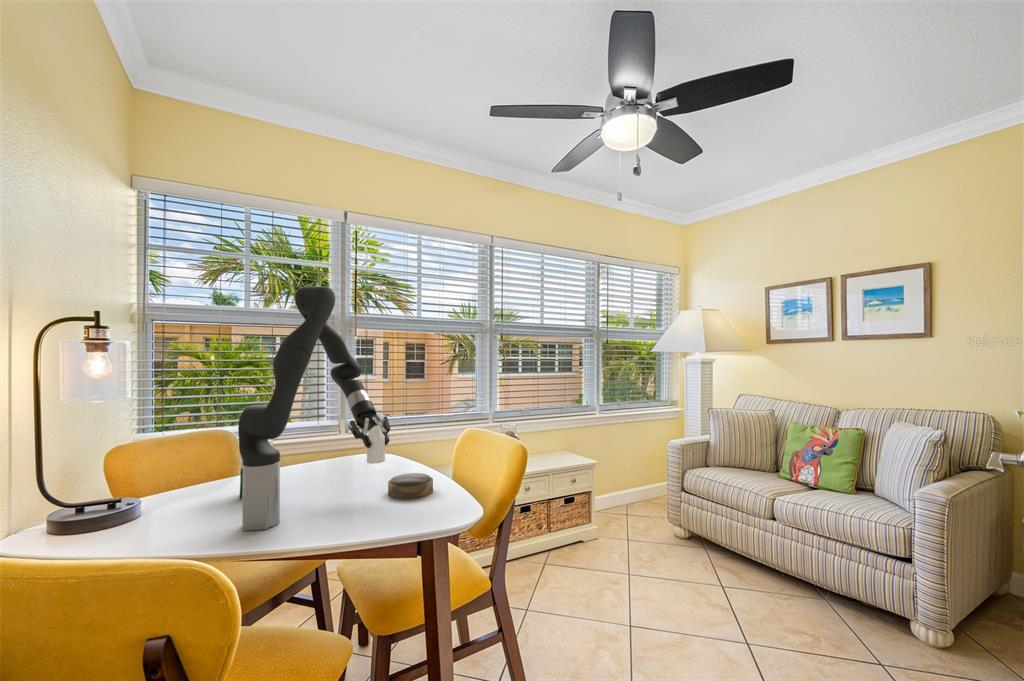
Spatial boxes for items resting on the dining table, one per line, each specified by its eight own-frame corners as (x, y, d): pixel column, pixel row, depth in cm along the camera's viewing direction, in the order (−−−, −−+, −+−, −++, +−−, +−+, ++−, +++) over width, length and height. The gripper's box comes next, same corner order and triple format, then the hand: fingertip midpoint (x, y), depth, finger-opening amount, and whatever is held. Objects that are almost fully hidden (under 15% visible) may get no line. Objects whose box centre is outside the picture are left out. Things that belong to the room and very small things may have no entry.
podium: (432, 497, 150) (432, 483, 150) (386, 500, 148) (386, 485, 148) (432, 484, 165) (432, 471, 165) (390, 487, 163) (390, 473, 163)
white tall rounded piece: (367, 427, 149) (365, 425, 154) (367, 464, 149) (365, 460, 154) (386, 426, 152) (383, 423, 157) (386, 462, 152) (383, 458, 157)
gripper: (345, 401, 153) (362, 441, 145) (383, 397, 163) (401, 435, 155) (338, 415, 157) (354, 455, 148) (376, 410, 167) (393, 448, 159)
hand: (378, 444), depth 152 cm, fingers closed on white tall rounded piece, 5 cm apart
